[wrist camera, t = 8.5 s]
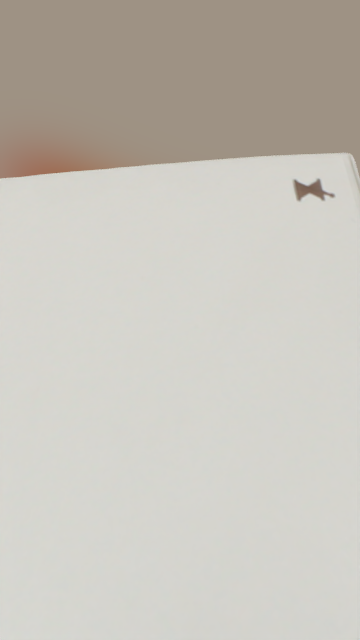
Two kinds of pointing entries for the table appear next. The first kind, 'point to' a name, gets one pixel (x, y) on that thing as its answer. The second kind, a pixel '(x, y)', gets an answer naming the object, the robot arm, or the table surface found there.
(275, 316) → the small box
